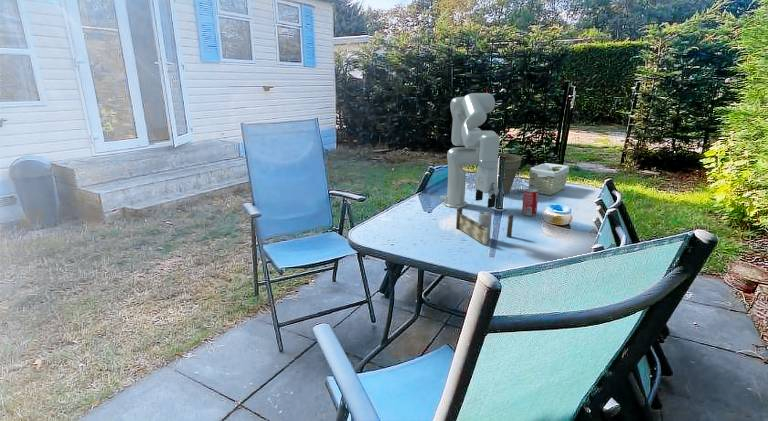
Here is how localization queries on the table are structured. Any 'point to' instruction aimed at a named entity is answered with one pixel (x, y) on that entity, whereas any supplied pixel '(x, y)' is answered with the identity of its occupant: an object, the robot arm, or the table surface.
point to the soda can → (530, 202)
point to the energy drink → (485, 221)
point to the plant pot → (510, 170)
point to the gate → (473, 229)
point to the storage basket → (548, 178)
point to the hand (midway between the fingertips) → (484, 203)
